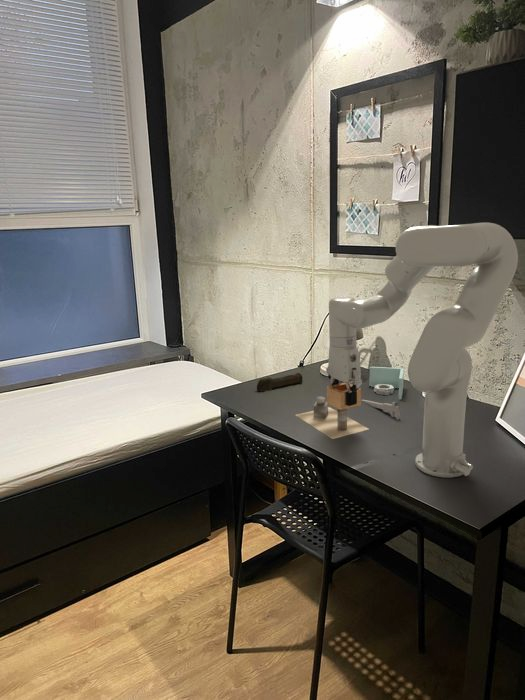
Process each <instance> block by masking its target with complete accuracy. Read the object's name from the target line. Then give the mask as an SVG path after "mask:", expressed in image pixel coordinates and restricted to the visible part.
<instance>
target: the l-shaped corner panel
mask: <svg viewBox="0 0 525 700" xmlns="http://www.w3.org/2000/svg"><path fill="white" fill-rule="evenodd" d="M404 369H405V368H401V367H388V366H387V367H384V366H382V367H381V366H369V382H368V384H369V386H371V387H370V388H374V389H373V392H374V393H375V392H376V393H375V394H377V395H380V396H382V395H384V396H387V395H388V396H389V395H391V394H394V393H395V392H393V391H395V389H398V388H399V389H398V398H397V399H398V400H402V399H403V391H404V373H405V372H404Z"/></svg>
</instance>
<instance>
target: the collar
mask: <svg viewBox="0 0 525 700" xmlns="http://www.w3.org/2000/svg"><path fill="white" fill-rule="evenodd" d="M350 386H351V387H352V386H353V384H352V383H350ZM346 392H348V390H347V387H346V383H344V382H342V383H341V382H340V384H337V385H332V386H331V385H328V386H327V385H326V402H327V403H328V405H330V406H333V407H334V408H336V409H340V410H343V409H347V410H348V409H350V408H354V407H358V406H362V401H361V400H362V388H361V387H360V388H359V389H358V391H357V404H355V405H351V406H347V397H346Z"/></svg>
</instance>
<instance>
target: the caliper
mask: <svg viewBox="0 0 525 700" xmlns="http://www.w3.org/2000/svg"><path fill="white" fill-rule="evenodd" d="M361 402H363V403H364V404H366V405H368V406H370V407H372V408H376V409H381V410H382V411H383V412H384V413H390V417H391V418H395V420H400V419H401V411H400V406H399V404H398V401H393V402H391V403H387V402H384V403H381V402H376V401H372V400H366V399H361Z"/></svg>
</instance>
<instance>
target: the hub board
mask: <svg viewBox="0 0 525 700" xmlns="http://www.w3.org/2000/svg"><path fill="white" fill-rule="evenodd" d="M295 416H296V417H297V418H299V419H300V420H302V421H303V422H306V424H308V425H309V426H312V427H313V428H315V429H316V430H317V431H319V432H321V433H322V434H323V435H325V436H326V437H329V438H330V439H331V440H334V439H339V438H343V437H346V436H349V435H353V434H358V433H362V432H365V431H369V430H370V429H369V428H368V427H366V426H364V425H363V424H361V423H359V422H358V421H356V420H354V419H352V418H350V417H349V416H348V408H347V409H343V410H340V409H338V408H336V409H333V408H332V407H330V406H329V404H328V403H327V401H326V397H325V396H316V401H315V403H314V404H313V410H311V411H307V412H302V413H297V414H295Z"/></svg>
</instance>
